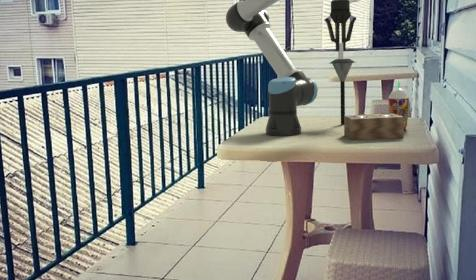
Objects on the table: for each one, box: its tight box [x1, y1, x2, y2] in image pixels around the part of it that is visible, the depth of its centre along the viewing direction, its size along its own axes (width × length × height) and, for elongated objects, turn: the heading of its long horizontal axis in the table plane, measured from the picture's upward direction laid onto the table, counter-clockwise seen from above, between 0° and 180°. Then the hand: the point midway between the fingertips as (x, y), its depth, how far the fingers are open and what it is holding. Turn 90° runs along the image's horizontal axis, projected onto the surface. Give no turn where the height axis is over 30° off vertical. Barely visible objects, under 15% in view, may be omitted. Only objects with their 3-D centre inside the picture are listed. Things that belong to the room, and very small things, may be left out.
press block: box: [343, 113, 405, 141], centre depth 207 cm, size 20×12×8 cm, turn 93°
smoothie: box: [387, 81, 410, 131], centre depth 221 cm, size 8×8×20 cm
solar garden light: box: [328, 58, 356, 126], centre depth 242 cm, size 12×12×30 cm
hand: (340, 59), depth 218 cm, fingers closed
